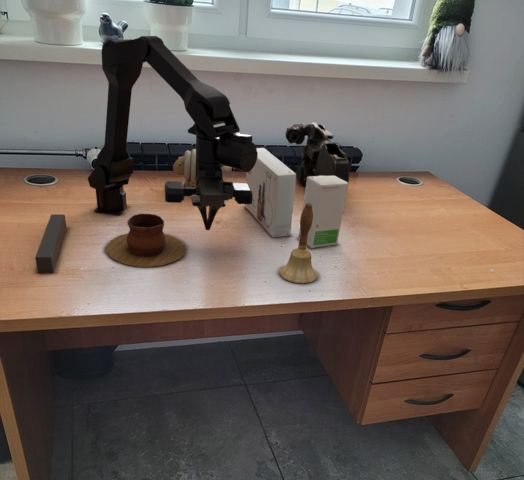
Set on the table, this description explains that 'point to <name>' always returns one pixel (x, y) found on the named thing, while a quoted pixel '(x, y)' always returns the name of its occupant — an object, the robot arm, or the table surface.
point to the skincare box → (272, 193)
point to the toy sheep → (190, 167)
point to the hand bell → (301, 254)
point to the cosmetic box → (325, 209)
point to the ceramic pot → (145, 243)
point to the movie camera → (318, 152)
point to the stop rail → (51, 244)
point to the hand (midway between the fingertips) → (207, 229)
